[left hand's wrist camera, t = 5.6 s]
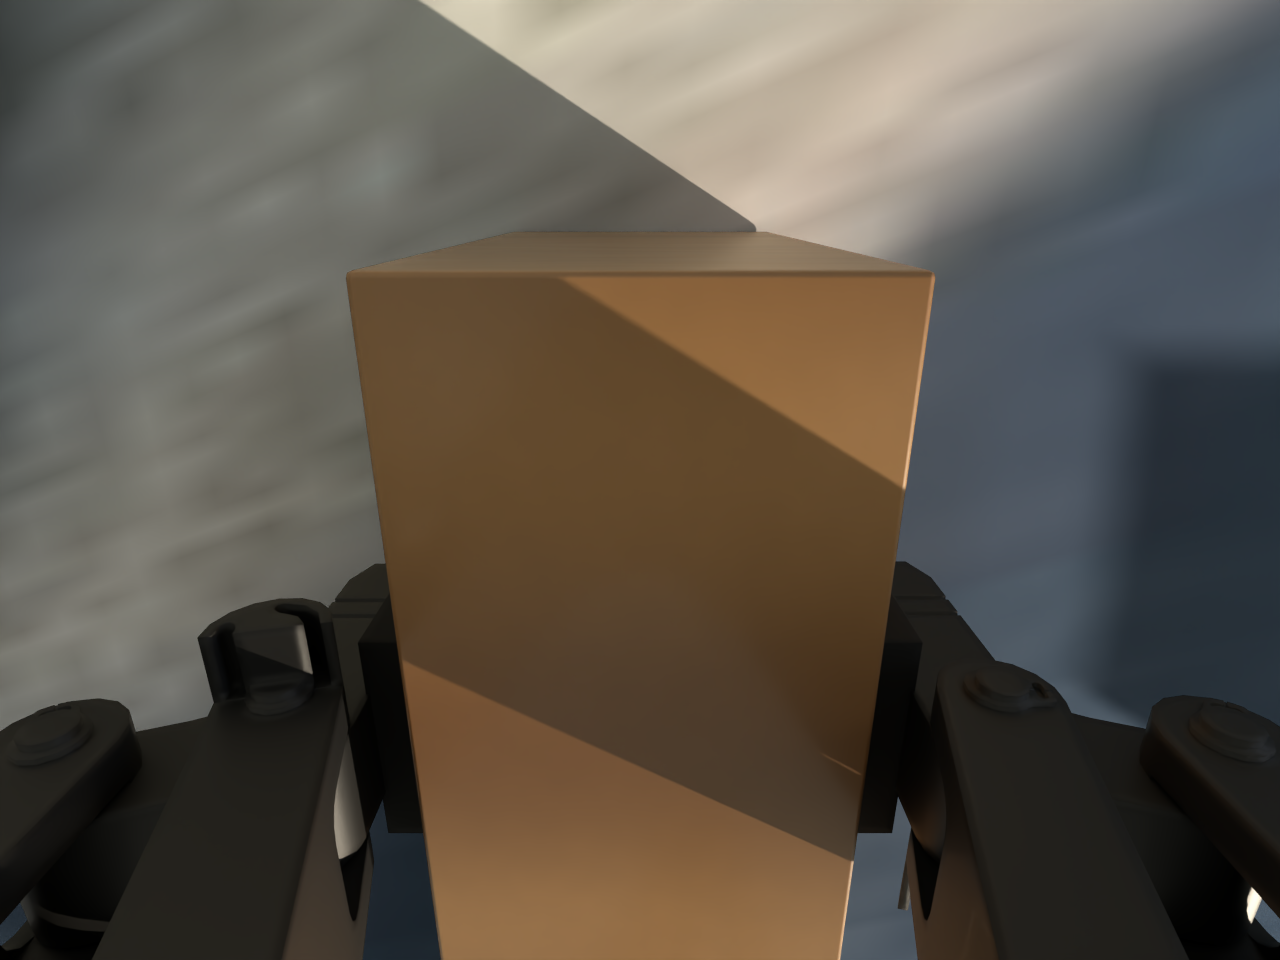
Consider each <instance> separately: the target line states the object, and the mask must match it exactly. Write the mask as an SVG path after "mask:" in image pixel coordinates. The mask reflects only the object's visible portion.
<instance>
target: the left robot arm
mask: <svg viewBox="0 0 1280 960" xmlns="http://www.w3.org/2000/svg"><path fill="white" fill-rule="evenodd" d="M198 642H199V646H200V650H201V653H202V657H203V661H204V665H205V669H206V673H207V677H208V681H209V685H210V689H211V693H212V697H213V701H214V704H213V706H212V708H211V710H210V712H209V715H208V717H204V718H200V719H197V720H193V721H188V722H183V723H178V724H173V725H168V726H163V727H158V728H153V729H148V730H143V731H138V732H136V731H135V728H134V724H133V721H132V718H131V715H130V711H129V710H128V709H127V708H126V707H125V706H123V705H122V704H121V703H119V702H118V701H112V700H105V699H89V700H80V701H70V702H66V703H61V704H58V705H57V706H55V705H53V706H50V707H47V708H44V709H41V710H39V711H37V712H35V713H34V714H32V715H30V716H28V717H25V718H23V719H21V720H19V721H16V722H14V723H12V724H11V725H9V726H8V727H6V728H5V729H3V730H2V731H0V924H1V923H2V922H3V921H4V920H5V919H6V918H7V917H8V915H9V914H10V913H11V912H12V911H13V910H14V909H15V908H16V906H17V905H18V904H19V903H21V905H22V908H23V910H24V913H25V915H26V917H27V921H26V922H25V923H24V925H23V926H22V927H21V928H20V929H19V930H18V932H17V933H16V934H15V935H14V936H13V937H12V938H10V939H9V940H8V941H7V942H6V943H4V944H3V945H2V946H0V960H362V958H363V950H364V942H365V933H366V925H367V916H368V908H369V900H370V891H371V883H372V874H373V866H374V857H373V850H372V844H371V838H370V832H369V830H370V827H371V825H372V823H373V820H374V818H375V816H376V813H377V811H378V809H379V806H380V804H381V802H382V799H383V802H384V809H385V815H386V821H387V827H388V833H423V828H422V820H421V813H420V806H419V799H418V792H417V785H416V777H415V770H414V763H413V756H412V749H411V741H410V734H409V727H408V720H407V713H406V706H405V698H404V691H403V684H402V677H401V670H400V662H399V655H398V648H397V641H396V634H395V627H394V619H393V612H392V605H391V598H390V591H389V583H388V576H387V569H386V564H374V565H373V566H371V567H369V568H368V569H366V570H365V571H363V572H361V573H360V574H358V575H357V576H355V577H354V578H352V579H350V580H349V581H348V583H347V584H346V585H345V587H344V588H343V589H342V591H341V592H340V593H339V595H338V596H337V597H336V598H335V602H332V604H331V605H330V606H329V608H327V607H326V606H325V605H323V604H322V603H321V602H317V601H312V600H308V599H303V598H293V599H276V600H271V601H265V602H260V603H255V604H252V605H249V606H247V607H244V608H241V609H238V610H236V611H233V612H230V613H228V614H227V615H225V616H223V617H222V618H220V619H218V620H217V621H215V622H213V623H211V624H210V625H209V626H208V627H207V628H206V629H205V630H204V631H203V632H202V633H201V634H200V636H199V637H198ZM898 797H899V799H900V802H901V804H902V806H903V809H904V811H905V813H906V815H907V818H908V820H909V822H910V825H911V832H910V838H909V844H908V849H907V855H906V861H905V867H904V873H903V878H902V884H901V890H900V896H899V903H898V909H903V910H908V906H909V900H910V898H911V906H912V915H913V923H914V931H915V940H916V948H917V957H918V960H1280V943H1279V942H1277V941H1276V940H1275V939H1274V938H1273V937H1272V936H1271V935H1270V934H1269V933H1268V932H1267V931H1266V930H1265V929H1264V928H1263V927H1262V926H1261V924H1260V923H1259V922H1258V921H1257V920H1256V919H1255V917H1254V916H1255V914H1256V912H1257V909H1258V907H1259V904H1260V902H1261V900H1262V899H1263V900H1264V901H1265V903H1266V904H1267V905H1268V906H1269V907H1270V908H1271V909H1272V910H1273V911H1274V913H1275V914H1276V915H1277V916H1278V917H1279V918H1280V727H1279V726H1278V725H1276V724H1275V723H1273V722H1272V721H1270V720H1268V719H1266V718H1264V717H1262V716H1259V715H1257V714H1255V713H1253V712H1251V711H1248V710H1247V709H1245V708H1244V707H1242V706H1239V705H1236V704H1233V703H1230V702H1227V703H1225V702H1224V701H1222V700H1218V699H1213V698H1204V697H1195V696H1186V695H1182V696H1175V697H1168V698H1163V699H1162V700H1160V701H1159V702H1158V703H1157V704H1155V705H1154V706H1153V707H1152V710H1151V713H1150V716H1149V720H1148V723H1147V726H1146V729H1144V728H1139V727H1134V726H1129V725H1124V724H1119V723H1113V722H1108V721H1103V720H1098V719H1093V718H1089V717H1085V716H1081V715H1077V714H1073V713H1071V711H1070V709H1069V707H1068V705H1067V703H1066V701H1065V700H1064V699H1063V697H1062V696H1061V695H1060V694H1059V692H1058V691H1057V690H1056V689H1055V687H1053V686H1052V685H1050V684H1049V683H1048V682H1046V681H1045V680H1043V679H1042V678H1040V677H1039V676H1037V675H1036V674H1034V673H1031V672H1029V671H1027V670H1024V669H1022V668H1020V667H1017V666H1015V665H1013V664H1008V663H1004V662H999V661H995V659H994V658H993V657H992V656H991V654H990V653H989V652H988V650H987V649H986V648H985V647H984V645H983V644H982V643H981V641H980V640H979V639H978V638H977V636H976V635H975V634H974V632H973V631H972V630H971V628H970V627H969V626H968V625H967V623H966V622H965V621H964V619H963V618H962V617H961V616H960V615H957V610H956V609H955V608H954V607H953V605H952V604H951V603H950V601H949V600H946V599H945V595H944V594H943V592H942V591H941V590H940V588H939V587H938V586H937V585H936V583H935V582H934V581H933V579H932V578H931V577H929V576H928V575H926V574H925V573H923V572H921V571H920V570H918V569H917V568H915V567H913V566H912V565H910V564H909V563H907V562H895V568H894V576H893V583H892V590H891V597H890V604H889V611H888V619H887V626H886V633H885V640H884V647H883V654H882V661H881V669H880V676H879V683H878V690H877V697H876V704H875V711H874V719H873V726H872V733H871V740H870V747H869V754H868V762H867V769H866V776H865V783H864V790H863V797H862V804H861V812H860V819H859V826H858V833H892V830H893V824H894V817H895V811H896V805H897V799H898Z"/></svg>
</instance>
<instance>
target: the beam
mask: <svg viewBox="0 0 1280 960" xmlns="http://www.w3.org/2000/svg"><path fill="white" fill-rule="evenodd" d="M346 282H347V289H348V296H349V303H350V311H351V318H352V325H353V332H354V339H355V347H356V354H357V361H358V368H359V375H360V382H361V390H362V397H363V404H364V411H365V418H366V426H367V433H368V440H369V447H370V454H371V461H372V469H373V476H374V483H375V490H376V497H377V504H378V512H379V519H380V526H381V533H382V540H383V548H384V555H385V562H386V569H387V576H388V583H389V591H390V598H391V605H392V612H393V619H394V627H395V634H396V641H397V648H398V655H399V662H400V670H401V677H402V684H403V691H404V698H405V706H406V713H407V720H408V727H409V734H410V741H411V749H412V756H413V763H414V770H415V777H416V785H417V792H418V799H419V806H420V813H421V820H422V828H423V835H424V842H425V849H426V856H427V864H428V871H429V878H430V885H431V892H432V899H433V907H434V914H435V921H436V928H437V935H438V943H439V950H440V957H441V960H840V955H841V947H842V940H843V933H844V926H845V919H846V912H847V905H848V897H849V890H850V883H851V876H852V869H853V862H854V854H855V847H856V840H857V833H858V826H859V819H860V812H861V804H862V797H863V790H864V783H865V776H866V769H867V762H868V754H869V747H870V740H871V733H872V726H873V719H874V711H875V704H876V697H877V690H878V683H879V676H880V669H881V661H882V654H883V647H884V640H885V633H886V626H887V619H888V611H889V604H890V597H891V590H892V583H893V576H894V568H895V561H896V554H897V547H898V540H899V533H900V526H901V518H902V511H903V504H904V497H905V490H906V483H907V476H908V468H909V461H910V454H911V447H912V440H913V433H914V425H915V418H916V411H917V404H918V397H919V390H920V383H921V375H922V368H923V361H924V354H925V347H926V340H927V333H928V325H929V318H930V311H931V304H932V297H933V290H934V282H935V276H934V273H933V272H931V271H929V270H925V269H921V268H917V267H912V266H908V265H904V264H900V263H896V262H891V261H887V260H883V259H879V258H874V257H870V256H866V255H862V254H857V253H853V252H849V251H845V250H841V249H836V248H832V247H828V246H824V245H819V244H815V243H811V242H807V241H803V240H798V239H794V238H790V237H786V236H781V235H777V234H773V233H769V232H511V233H507V234H503V235H499V236H495V237H490V238H486V239H482V240H478V241H474V242H469V243H465V244H461V245H457V246H453V247H448V248H444V249H440V250H436V251H432V252H427V253H423V254H419V255H415V256H411V257H406V258H402V259H398V260H394V261H390V262H385V263H381V264H377V265H373V266H369V267H364V268H360V269H356V270H352V271H350V272H348V273H347V276H346Z"/></svg>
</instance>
